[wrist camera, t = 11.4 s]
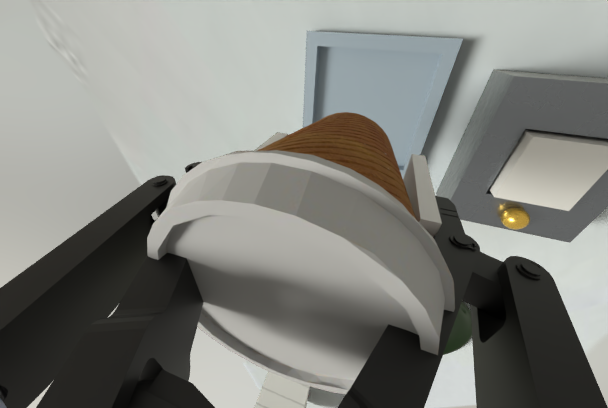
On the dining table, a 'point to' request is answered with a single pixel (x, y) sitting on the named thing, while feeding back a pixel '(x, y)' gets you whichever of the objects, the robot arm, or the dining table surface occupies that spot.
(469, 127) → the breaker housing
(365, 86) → the tray
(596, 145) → the button
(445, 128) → the dining table surface
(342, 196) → the disposable coffee cup
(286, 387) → the pizza boxes
